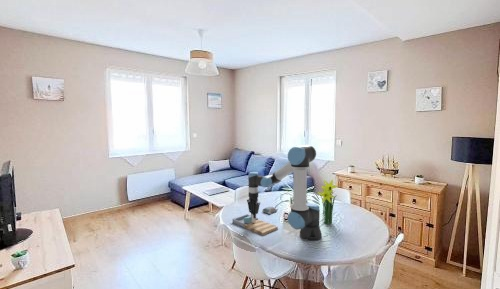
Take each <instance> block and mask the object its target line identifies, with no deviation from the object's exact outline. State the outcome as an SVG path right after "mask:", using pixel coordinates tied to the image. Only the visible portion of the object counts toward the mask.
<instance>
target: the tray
mask: <svg viewBox="0 0 500 289" xmlns="http://www.w3.org/2000/svg"><path fill="white" fill-rule="evenodd" d="M248 216H251V214H244V215H241V216H237V217H235V218H232V223H233V224H234V225H237V226H239V227H242V228H244V225H245V224H248V223H244V219H243V218H245V217H248ZM256 220H259V218H258V217H256Z"/></svg>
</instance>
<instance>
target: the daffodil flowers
mask: <svg viewBox="0 0 500 289" xmlns="http://www.w3.org/2000/svg"><path fill="white" fill-rule="evenodd" d="M323 183H324V184H325V185H322V186H320V187H321V188H322V192H317V193H316V194H317V195H319V196H320V198H321V203H322V206H323V208H322V210H323V211H322V217H323V224H325V225H327V226H329V224H330V225H331V224H333V212H334V203H335V199H336V197H337V196H338V195H337V194H335V195H333V194H334V191H333V189H336V188H338V187H339V185H336V184H335V185H334V179H333V178H332V179H331V180H330V181H329V183H328V182H327V181H325V180H323Z"/></svg>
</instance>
